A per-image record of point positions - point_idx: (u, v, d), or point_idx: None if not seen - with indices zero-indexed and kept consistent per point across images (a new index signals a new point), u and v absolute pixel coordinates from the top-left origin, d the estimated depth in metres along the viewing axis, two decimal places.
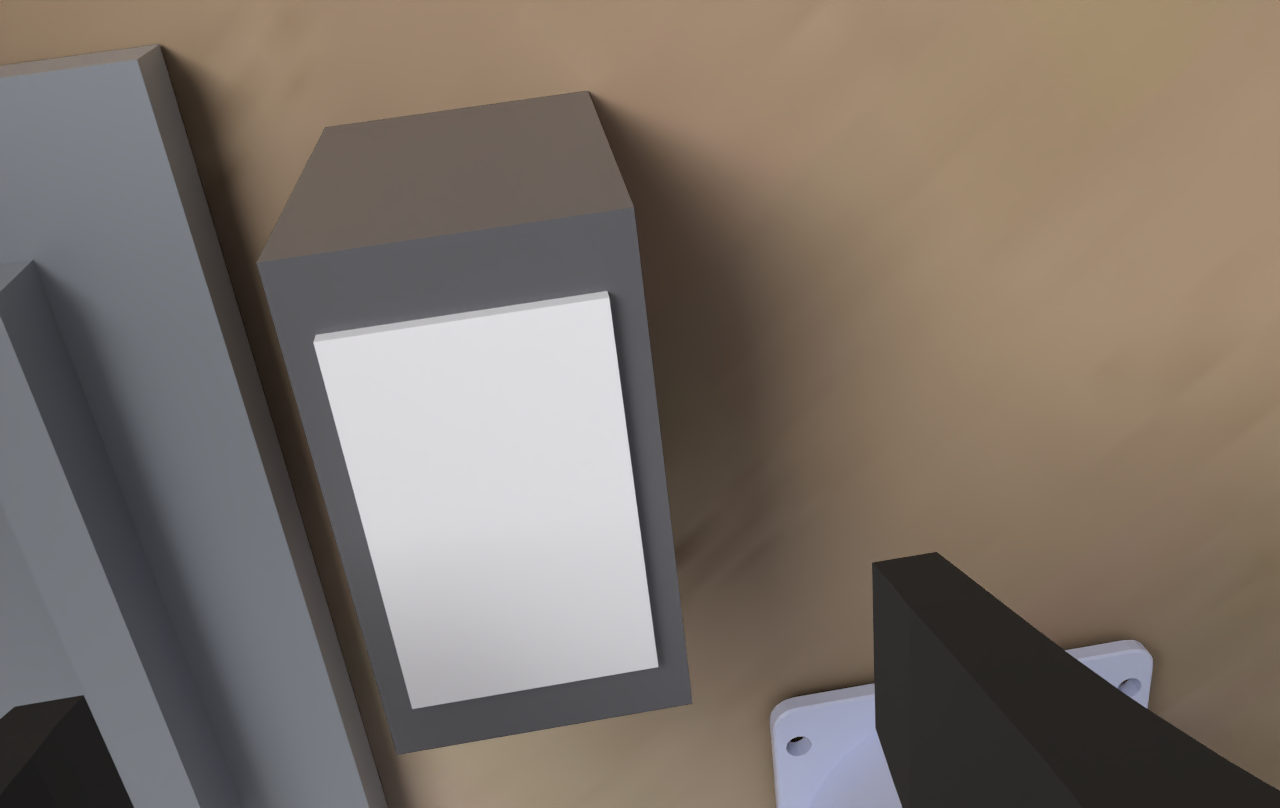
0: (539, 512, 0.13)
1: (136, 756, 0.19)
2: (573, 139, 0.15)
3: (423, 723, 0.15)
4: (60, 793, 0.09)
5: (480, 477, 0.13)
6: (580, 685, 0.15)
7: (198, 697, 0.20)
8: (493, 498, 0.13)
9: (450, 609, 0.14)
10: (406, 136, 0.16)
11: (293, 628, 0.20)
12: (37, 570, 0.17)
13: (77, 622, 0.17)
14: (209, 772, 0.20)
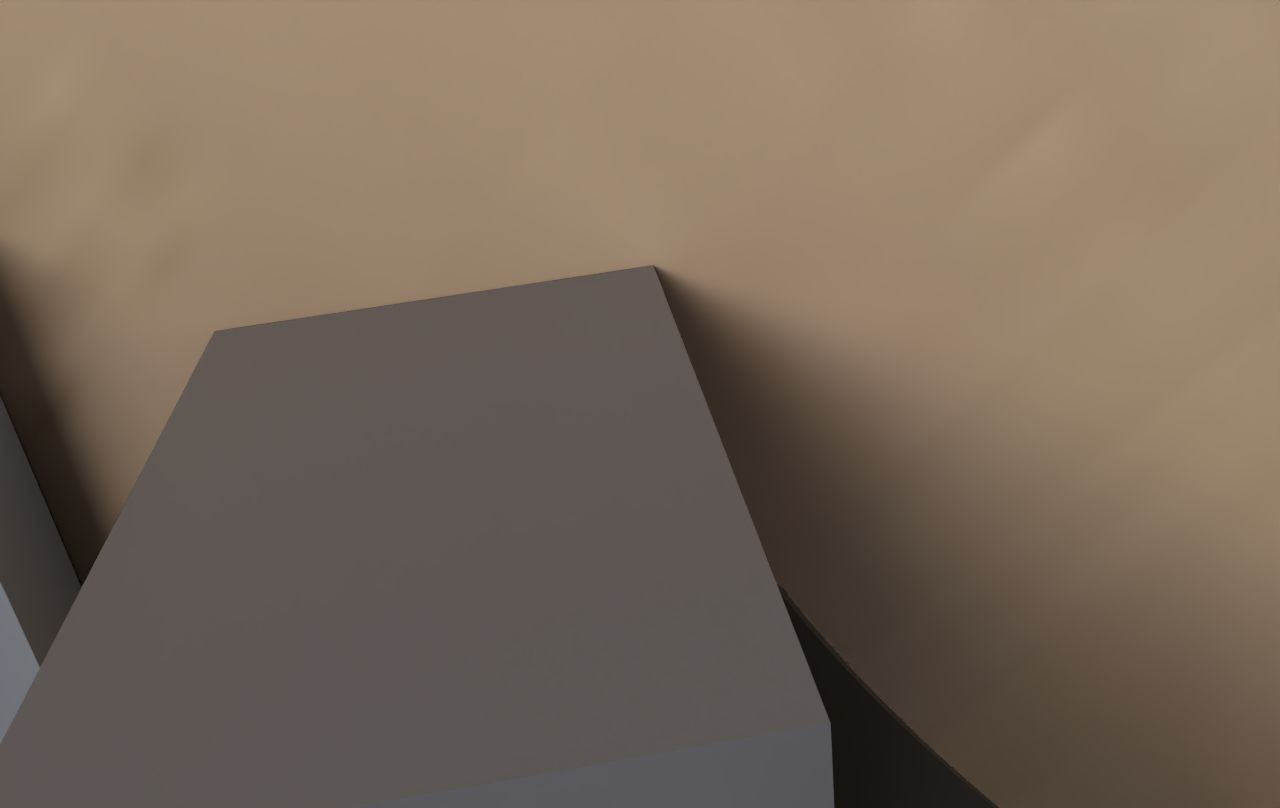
0: None
1: None
2: (648, 415, 0.08)
3: None
4: None
5: None
6: None
7: None
8: None
9: None
10: (344, 373, 0.09)
11: None
12: None
13: None
14: None
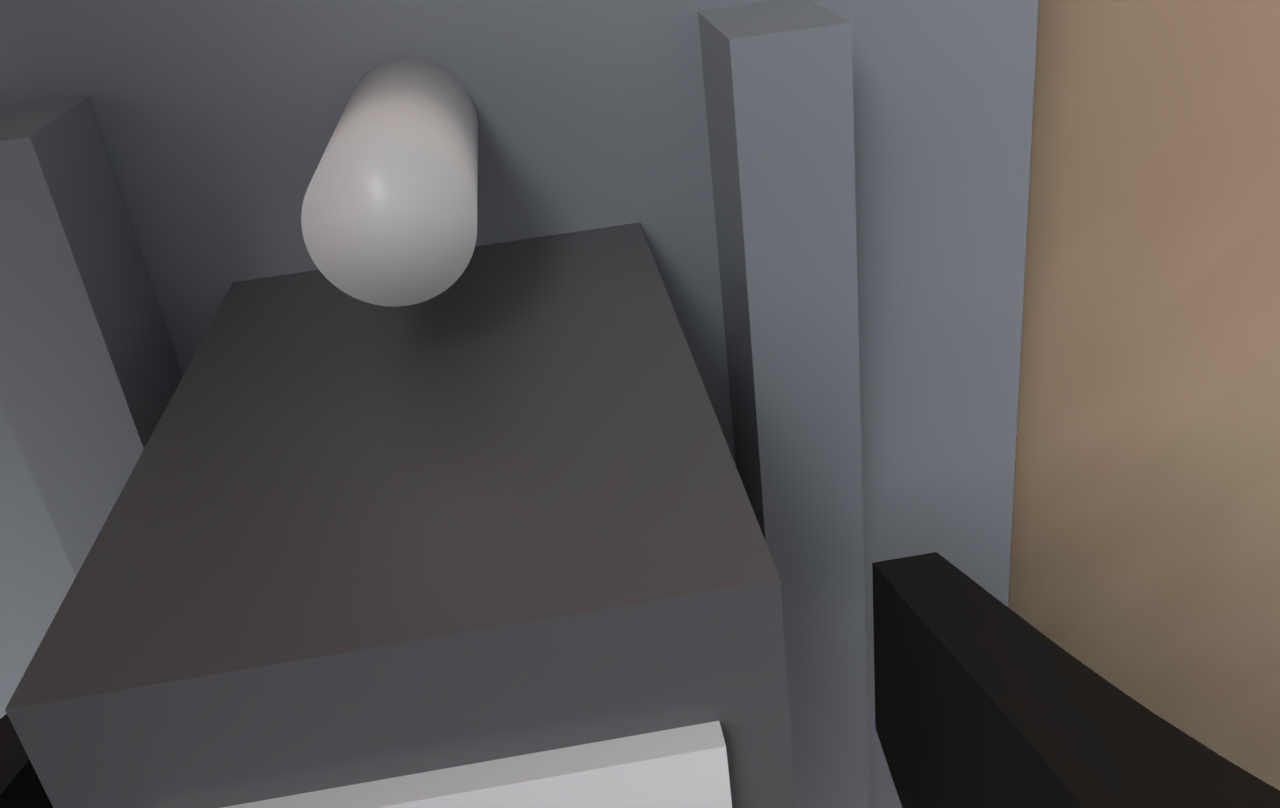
0: None
1: (812, 764, 0.13)
2: (631, 346, 0.09)
3: None
4: None
5: None
6: None
7: None
8: None
9: None
10: (353, 315, 0.10)
11: (983, 582, 0.14)
12: (770, 484, 0.11)
13: (799, 565, 0.12)
14: None
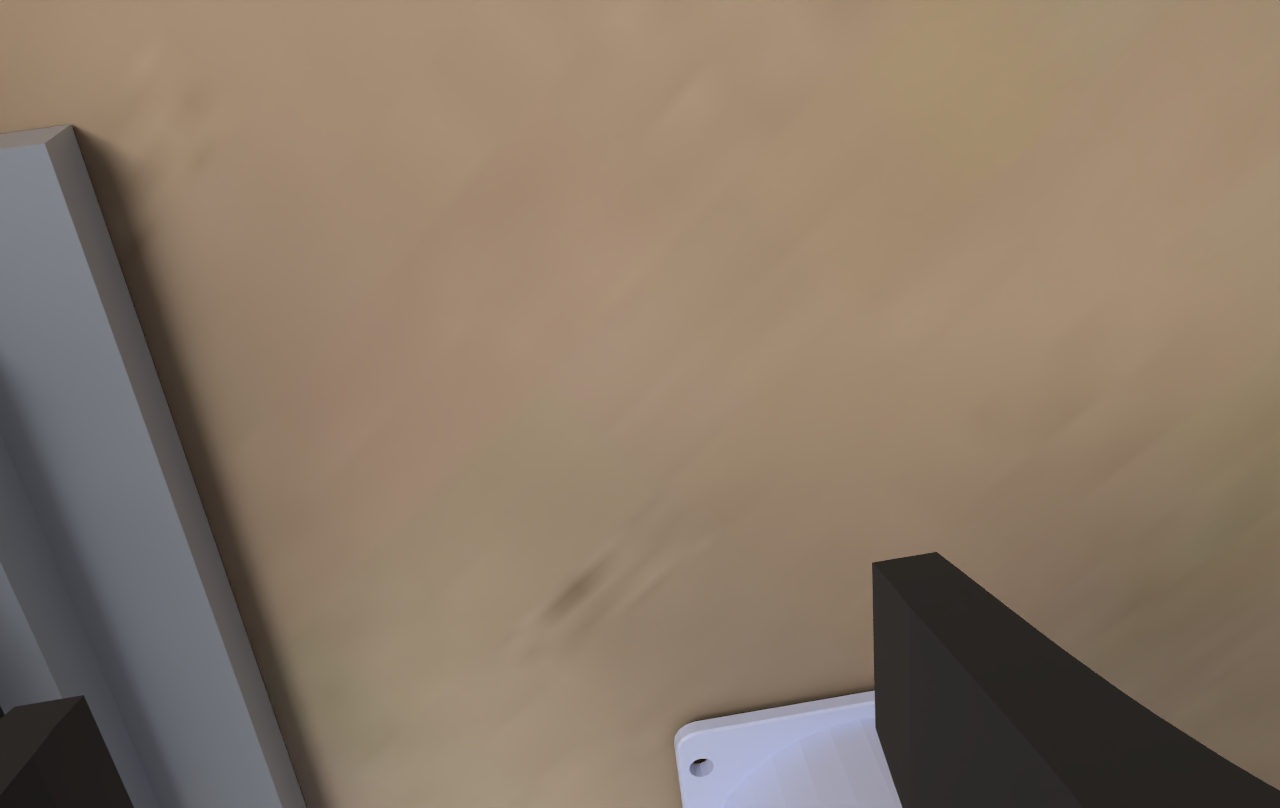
0: None
1: None
2: None
3: None
4: (60, 793, 0.09)
5: None
6: None
7: (123, 724, 0.21)
8: None
9: None
10: None
11: (210, 659, 0.21)
12: None
13: None
14: (132, 794, 0.21)
